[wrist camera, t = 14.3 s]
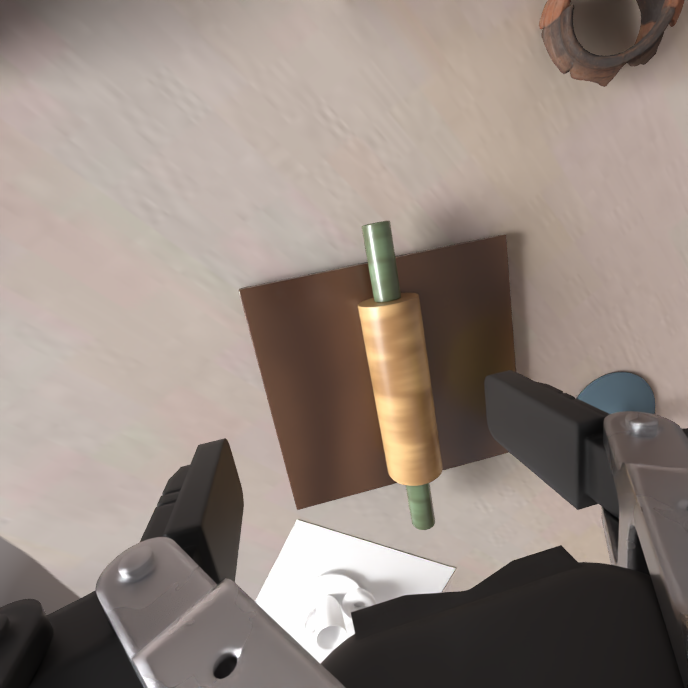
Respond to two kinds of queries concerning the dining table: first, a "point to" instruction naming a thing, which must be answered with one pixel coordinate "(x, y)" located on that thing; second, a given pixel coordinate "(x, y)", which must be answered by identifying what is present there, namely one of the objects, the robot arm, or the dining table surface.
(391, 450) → the rolling pin
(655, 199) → the dining table surface
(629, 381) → the cocktail glass
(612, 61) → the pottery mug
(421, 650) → the robot arm
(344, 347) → the pastry board
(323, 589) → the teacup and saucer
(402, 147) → the dining table surface
